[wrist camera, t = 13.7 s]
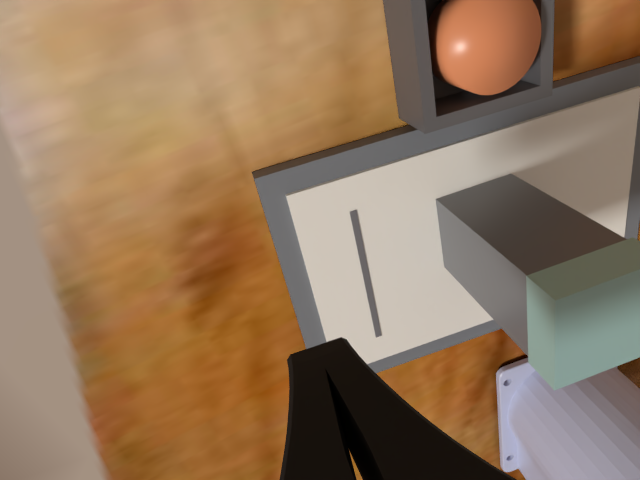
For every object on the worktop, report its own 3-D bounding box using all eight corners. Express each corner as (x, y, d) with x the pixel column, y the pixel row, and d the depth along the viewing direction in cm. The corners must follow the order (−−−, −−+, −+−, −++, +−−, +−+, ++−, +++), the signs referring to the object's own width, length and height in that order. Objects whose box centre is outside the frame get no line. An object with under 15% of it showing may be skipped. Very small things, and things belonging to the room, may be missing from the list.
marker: (515, 243, 23) (656, 350, 16) (442, 269, 23) (554, 390, 16) (513, 170, 21) (670, 258, 15) (433, 197, 21) (555, 300, 14)
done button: (508, 72, 19) (541, 80, 17) (428, 95, 19) (453, 106, 17) (506, -25, 18) (541, -26, 16) (418, -1, 17) (444, 0, 15)
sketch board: (620, 274, 28) (635, 284, 27) (316, 382, 26) (321, 396, 25) (645, 54, 22) (665, 57, 21) (251, 172, 20) (255, 181, 19)
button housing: (513, 84, 21) (552, 95, 19) (399, 118, 20) (425, 134, 18) (511, -57, 18) (555, -63, 16) (380, -23, 18) (407, -24, 15)
